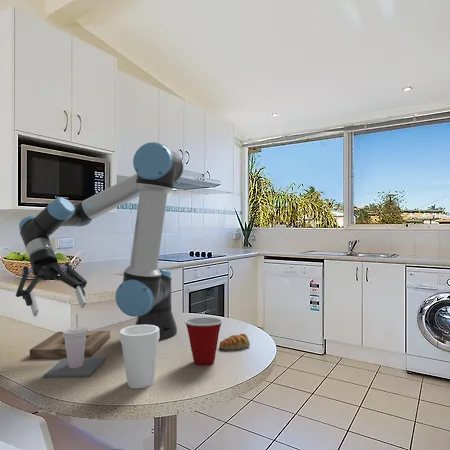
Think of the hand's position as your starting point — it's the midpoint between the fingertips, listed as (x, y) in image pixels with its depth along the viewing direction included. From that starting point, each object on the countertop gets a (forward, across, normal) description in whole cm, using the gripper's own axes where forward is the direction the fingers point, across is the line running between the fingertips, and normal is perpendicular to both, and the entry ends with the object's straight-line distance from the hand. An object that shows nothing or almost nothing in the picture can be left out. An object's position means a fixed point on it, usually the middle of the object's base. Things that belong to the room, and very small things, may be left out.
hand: (61, 309), depth 106 cm
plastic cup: (+34, -27, +13) cm, 45 cm away
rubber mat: (+17, 0, -3) cm, 18 cm away
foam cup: (+32, -7, +12) cm, 35 cm away
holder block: (+5, -6, -16) cm, 18 cm away
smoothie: (+17, 0, -3) cm, 17 cm away
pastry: (+32, -42, +11) cm, 54 cm away
